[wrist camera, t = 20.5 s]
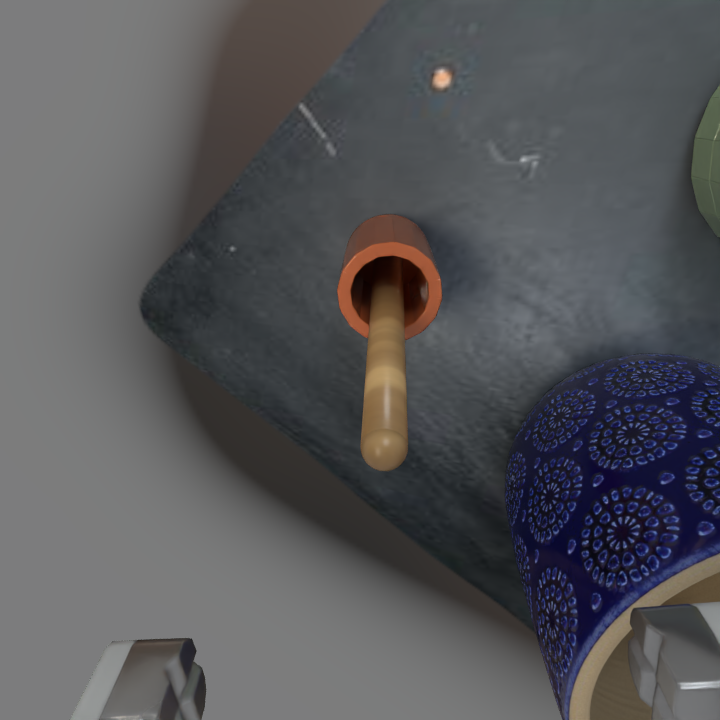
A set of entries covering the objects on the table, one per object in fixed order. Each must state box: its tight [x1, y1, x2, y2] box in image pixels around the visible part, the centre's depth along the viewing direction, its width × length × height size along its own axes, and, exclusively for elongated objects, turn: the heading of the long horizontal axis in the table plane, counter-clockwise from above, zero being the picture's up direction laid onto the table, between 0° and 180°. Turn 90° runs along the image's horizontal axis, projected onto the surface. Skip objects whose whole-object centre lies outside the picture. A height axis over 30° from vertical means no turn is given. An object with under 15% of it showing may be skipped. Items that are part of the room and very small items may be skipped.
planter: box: [505, 354, 720, 720], centre depth 34 cm, size 18×18×21 cm
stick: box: [361, 256, 408, 471], centre depth 30 cm, size 2×2×19 cm
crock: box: [337, 214, 442, 340], centre depth 35 cm, size 5×5×8 cm
